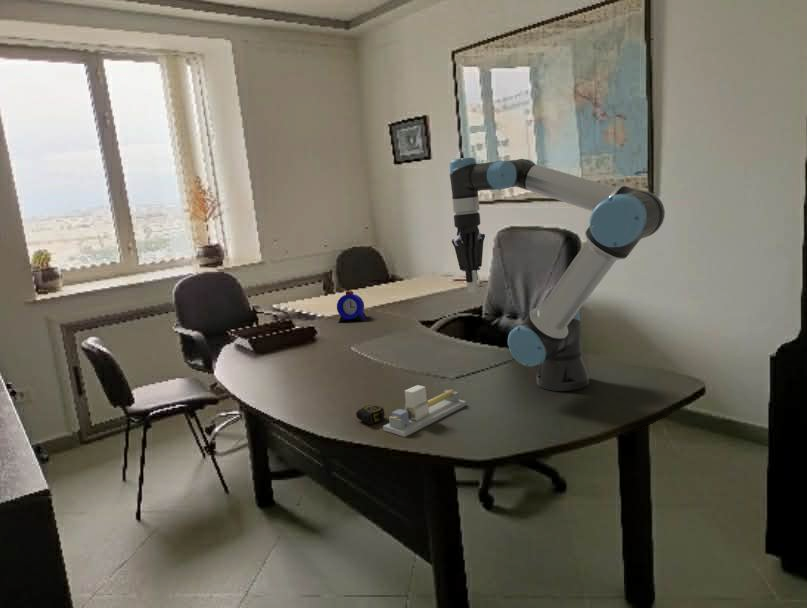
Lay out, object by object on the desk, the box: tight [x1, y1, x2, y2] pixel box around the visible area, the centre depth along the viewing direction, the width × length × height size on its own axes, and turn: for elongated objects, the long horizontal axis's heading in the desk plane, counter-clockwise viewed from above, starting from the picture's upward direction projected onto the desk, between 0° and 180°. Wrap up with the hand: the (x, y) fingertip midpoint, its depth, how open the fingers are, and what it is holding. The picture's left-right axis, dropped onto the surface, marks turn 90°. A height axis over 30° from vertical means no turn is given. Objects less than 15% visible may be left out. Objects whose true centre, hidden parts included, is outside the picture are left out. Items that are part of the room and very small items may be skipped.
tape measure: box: [355, 404, 385, 425], centre depth 169 cm, size 7×7×4 cm
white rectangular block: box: [404, 384, 429, 421], centre depth 164 cm, size 5×4×8 cm
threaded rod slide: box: [382, 389, 467, 438], centre depth 167 cm, size 25×8×5 cm, turn 135°
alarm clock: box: [336, 290, 367, 324], centre depth 299 cm, size 12×12×15 cm
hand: (473, 292), depth 182 cm, fingers closed
